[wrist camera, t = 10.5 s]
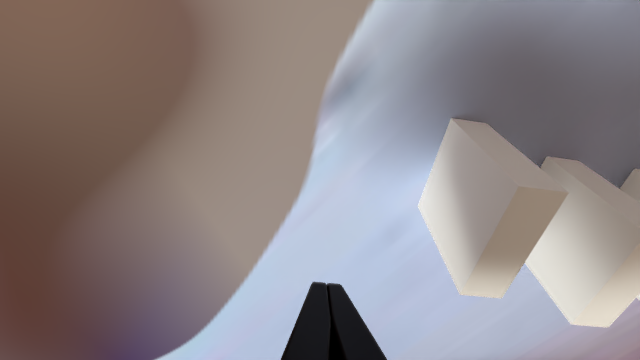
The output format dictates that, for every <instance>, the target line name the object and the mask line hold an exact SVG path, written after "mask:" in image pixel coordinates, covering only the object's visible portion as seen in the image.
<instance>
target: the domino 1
mask: <svg viewBox="0 0 640 360" xmlns="http://www.w3.org/2000/svg"><path fill="white" fill-rule="evenodd" d="M568 194H569V192H568V191H567V190H566V189H564V188H563V187H562V186H561V185H560V184H558V183H557V182H556V181H555V180H554V179H552V178H551V177H550V176H549V175H548V174H546V173H545V172H544V171H543V170H542V169H541V168H539V167H538V166H537V165H536V164H535V163H533V162H532V161H531V160H530V159H529V158H527V157H526V156H525V155H524V154H523V153H521V152H520V151H519V150H518V149H517V148H515V147H514V146H513V145H512V144H511V143H509V142H508V141H507V140H506V139H505V138H503V137H502V136H501V135H500V134H499V133H497V132H496V131H495V130H494V129H493V128H491V127H490V126H489V125H488V124H487V123H482V122H475V121H468V120H461V119H454V118H451V119H450V122H449V124H448V127H447V130H446V132H445V135H444V138H443V140H442V143H441V146H440V148H439V151H438V154H437V156H436V159H435V162H434V164H433V167H432V170H431V172H430V175H429V178H428V180H427V183H426V186H425V188H424V191H423V194H422V196H421V199H420V201H419V204H418V208H419V210H420V212H421V214H422V216H423V218H424V220H425V222H426V225H427V227H428V229H429V231H430V233H431V235H432V237H433V239H434V241H435V243H436V246H437V248H438V250H439V252H440V254H441V256H442V258H443V260H444V262H445V264H446V267H447V269H448V271H449V273H450V275H451V277H452V279H453V281H454V283H455V285H456V288H457V290H458V292H459V294H460V295H469V296H480V297H492V298H502V297H503V296H504V294H505V292H506V291H507V289H508V288H509V286H510V285H511V283H512V281H513V280H514V278H515V277H516V275H517V274H518V272H519V270H520V269H521V267H522V266H523V264H524V263H525V261H526V260H527V258H528V256H529V255H530V253H531V252H532V250H533V249H534V247H535V245H536V244H537V242H538V241H539V239H540V238H541V236H542V234H543V233H544V231H545V230H546V228H547V227H548V225H549V223H550V222H551V220H552V219H553V217H554V216H555V214H556V212H557V211H558V209H559V208H560V206H561V205H562V203H563V202H564V200H565V198H566V197H567V195H568Z"/></svg>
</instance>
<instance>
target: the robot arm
mask: <svg viewBox="0 0 640 360" xmlns="http://www.w3.org/2000/svg"><path fill="white" fill-rule="evenodd" d="M281 360H387V359H386V357H385V355H384V354H383V352H382V350H381V349H380V347H379V346H378V344H377V342H376V341H375V339H374V337H373V336H372V334H371V332H370V331H369V329H368V328H367V326H366V324H365V323H364V321H363V319H362V318H361V316H360V315H359V313H358V311H357V310H356V308H355V306H354V305H353V303H352V301H351V300H350V298H349V297H348V295H347V293H346V292H345V290H344V288H343V287H342V285H340V284H334V283H328V284H327V285H326V283H322V282H313V283H312V284H311V287H310V289H309V291H308V294H307V296H306V299H305V301H304V304H303V306H302V309H301V311H300V314H299V316H298V318H297V321H296V323H295V326H294V328H293V331H292V333H291V336H290V338H289V341H288V343H287V345H286V348H285V350H284V353H283V355H282V358H281Z"/></svg>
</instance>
